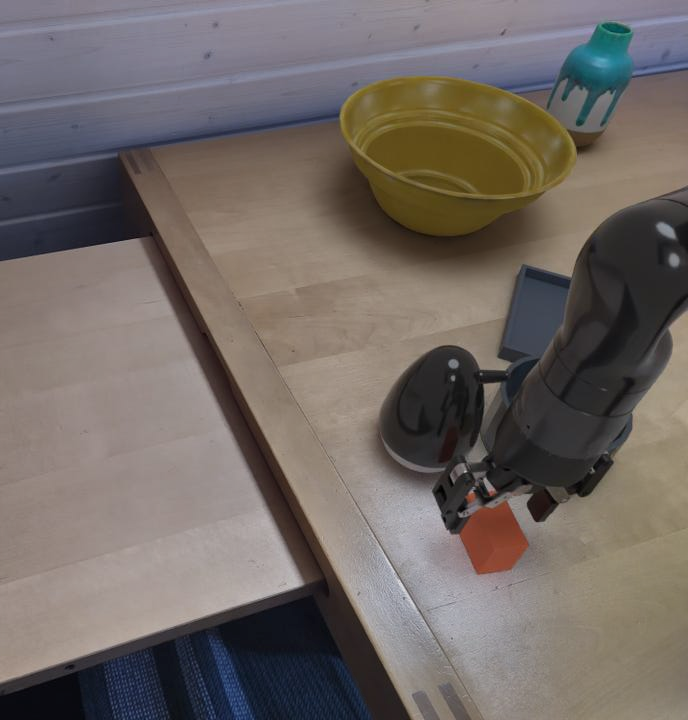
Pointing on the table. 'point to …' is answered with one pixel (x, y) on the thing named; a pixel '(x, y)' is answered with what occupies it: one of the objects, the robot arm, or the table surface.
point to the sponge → (493, 538)
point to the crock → (507, 393)
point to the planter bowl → (453, 151)
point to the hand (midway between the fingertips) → (492, 519)
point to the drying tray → (534, 312)
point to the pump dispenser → (436, 408)
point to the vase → (593, 82)
